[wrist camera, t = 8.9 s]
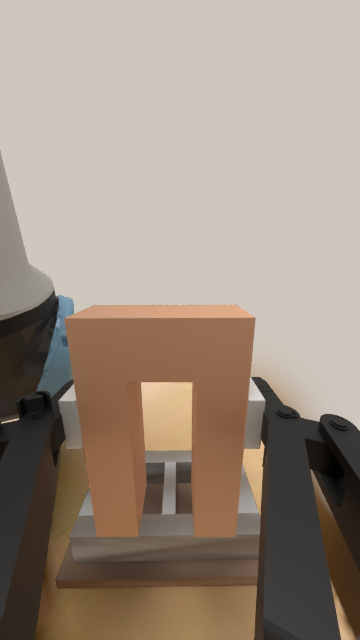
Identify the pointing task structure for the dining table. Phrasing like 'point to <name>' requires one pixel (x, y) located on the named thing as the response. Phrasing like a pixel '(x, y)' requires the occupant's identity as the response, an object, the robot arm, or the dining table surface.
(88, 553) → the grey socket block
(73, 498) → the dining table surface
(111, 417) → the tan arch block
